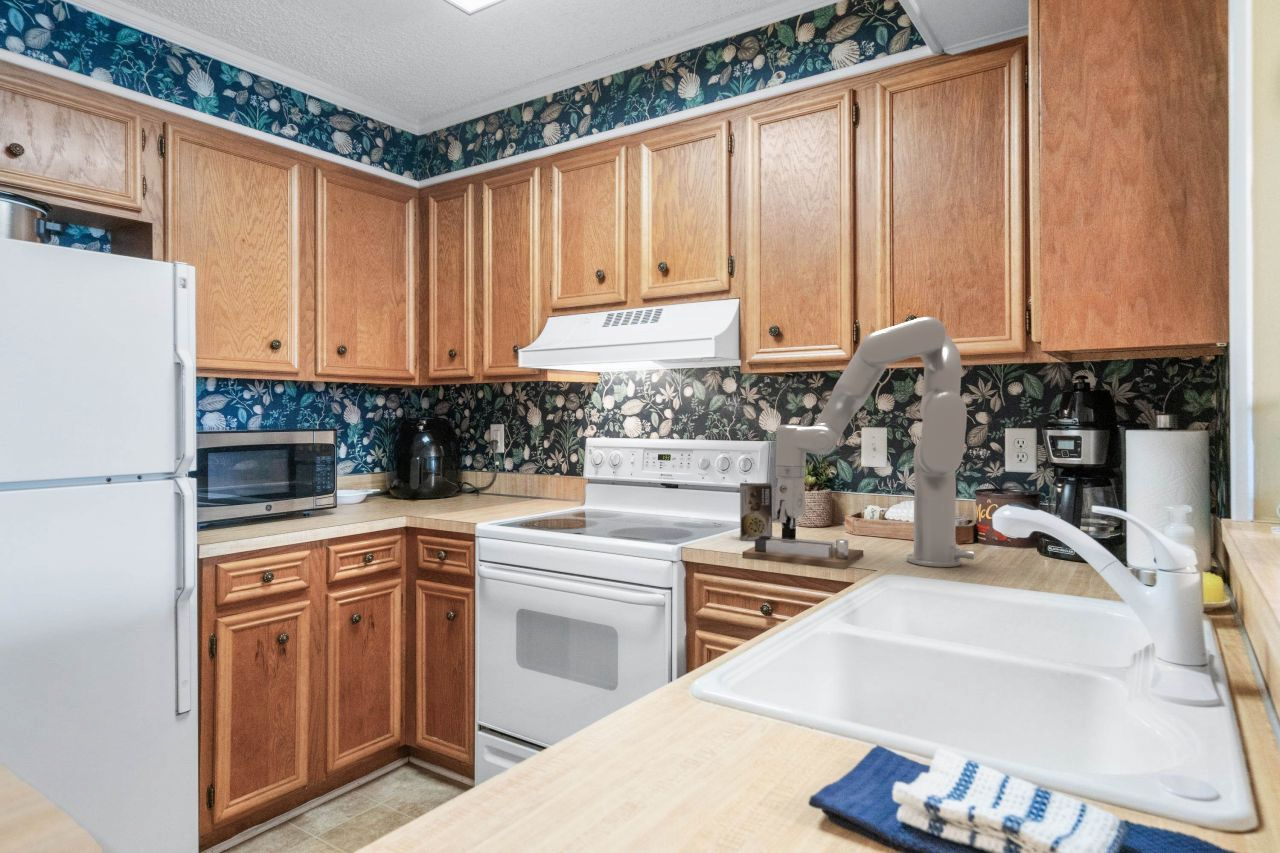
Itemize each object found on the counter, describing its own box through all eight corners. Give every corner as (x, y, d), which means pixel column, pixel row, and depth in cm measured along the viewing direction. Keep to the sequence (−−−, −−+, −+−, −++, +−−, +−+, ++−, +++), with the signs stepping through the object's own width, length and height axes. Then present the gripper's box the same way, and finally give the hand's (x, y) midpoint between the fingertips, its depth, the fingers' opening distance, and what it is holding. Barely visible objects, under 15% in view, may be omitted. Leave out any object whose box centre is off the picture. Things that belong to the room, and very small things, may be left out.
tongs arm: (834, 554, 186) (834, 542, 186) (832, 555, 184) (832, 543, 184) (762, 546, 195) (762, 535, 195) (758, 548, 193) (758, 536, 193)
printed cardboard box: (770, 537, 220) (771, 482, 219) (772, 541, 213) (772, 485, 213) (739, 536, 221) (739, 482, 220) (740, 540, 214) (740, 484, 214)
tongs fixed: (849, 557, 183) (849, 539, 183) (845, 561, 179) (845, 542, 179) (760, 548, 194) (761, 531, 194) (754, 551, 191) (754, 534, 191)
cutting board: (863, 556, 193) (863, 550, 192) (844, 569, 177) (844, 562, 177) (767, 546, 206) (767, 540, 206) (742, 557, 190) (742, 551, 190)
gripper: (794, 475, 185) (792, 549, 185) (814, 471, 197) (812, 540, 198) (765, 473, 188) (763, 545, 189) (787, 469, 201) (785, 537, 202)
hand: (788, 542), depth 193 cm, fingers closed
